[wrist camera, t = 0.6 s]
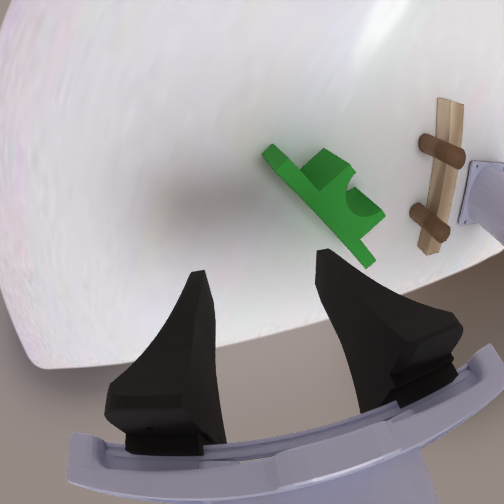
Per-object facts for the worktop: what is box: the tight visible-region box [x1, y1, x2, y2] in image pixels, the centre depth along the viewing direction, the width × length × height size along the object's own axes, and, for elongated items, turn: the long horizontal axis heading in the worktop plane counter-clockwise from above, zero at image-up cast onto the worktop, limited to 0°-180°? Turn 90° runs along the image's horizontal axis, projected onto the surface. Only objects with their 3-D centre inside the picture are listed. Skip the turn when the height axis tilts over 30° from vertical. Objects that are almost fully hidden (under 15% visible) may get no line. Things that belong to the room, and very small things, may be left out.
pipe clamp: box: [262, 144, 385, 269], centre depth 19 cm, size 11×4×5 cm, turn 45°
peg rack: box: [410, 98, 466, 256], centre depth 19 cm, size 4×16×4 cm, turn 6°
